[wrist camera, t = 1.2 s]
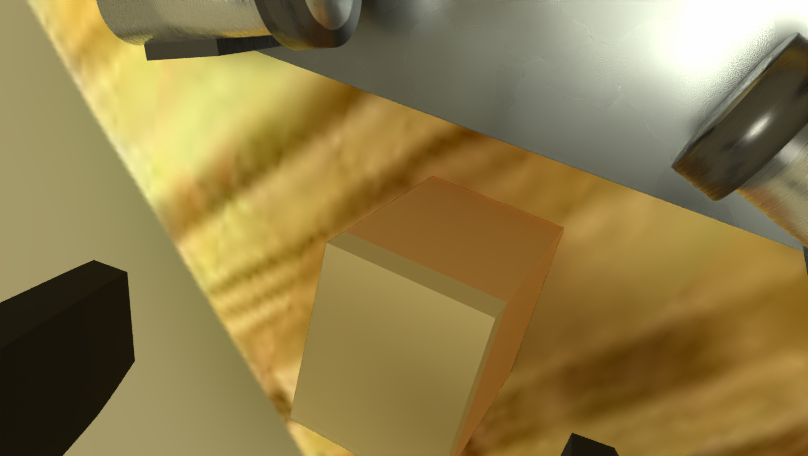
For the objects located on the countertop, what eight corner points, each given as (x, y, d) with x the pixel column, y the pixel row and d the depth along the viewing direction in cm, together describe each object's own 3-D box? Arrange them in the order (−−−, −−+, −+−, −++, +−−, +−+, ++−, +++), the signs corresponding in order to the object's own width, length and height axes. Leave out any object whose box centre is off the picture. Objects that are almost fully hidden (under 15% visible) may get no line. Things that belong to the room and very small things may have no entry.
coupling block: (563, 227, 19) (495, 318, 14) (510, 372, 22) (433, 497, 16) (433, 175, 21) (326, 242, 15) (394, 318, 23) (289, 418, 18)
